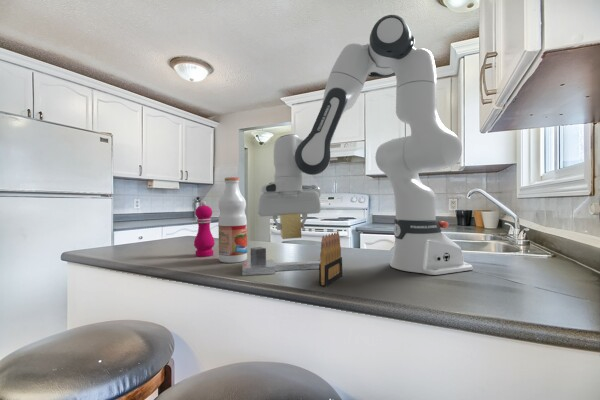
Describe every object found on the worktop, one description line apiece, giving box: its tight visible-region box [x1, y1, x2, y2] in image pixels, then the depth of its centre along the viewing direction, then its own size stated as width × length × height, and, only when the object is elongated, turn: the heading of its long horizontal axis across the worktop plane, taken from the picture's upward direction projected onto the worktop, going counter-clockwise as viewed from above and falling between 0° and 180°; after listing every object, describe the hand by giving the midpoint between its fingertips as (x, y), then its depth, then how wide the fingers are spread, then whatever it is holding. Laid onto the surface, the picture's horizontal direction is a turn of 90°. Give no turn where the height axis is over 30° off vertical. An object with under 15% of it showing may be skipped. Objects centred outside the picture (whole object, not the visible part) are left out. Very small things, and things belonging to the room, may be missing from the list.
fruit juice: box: [217, 176, 248, 264], centre depth 100 cm, size 9×9×28 cm
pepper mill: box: [193, 200, 215, 258], centre depth 109 cm, size 7×7×20 cm
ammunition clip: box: [318, 231, 343, 287], centre depth 75 cm, size 11×2×12 cm, turn 150°
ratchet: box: [241, 246, 320, 276], centre depth 88 cm, size 27×9×6 cm, turn 100°
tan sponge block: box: [279, 214, 302, 240], centre depth 96 cm, size 6×6×8 cm
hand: (290, 228), depth 96 cm, fingers closed on tan sponge block, 6 cm apart
